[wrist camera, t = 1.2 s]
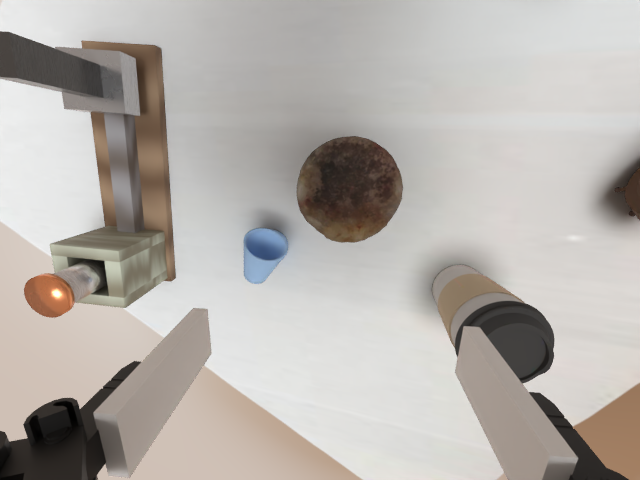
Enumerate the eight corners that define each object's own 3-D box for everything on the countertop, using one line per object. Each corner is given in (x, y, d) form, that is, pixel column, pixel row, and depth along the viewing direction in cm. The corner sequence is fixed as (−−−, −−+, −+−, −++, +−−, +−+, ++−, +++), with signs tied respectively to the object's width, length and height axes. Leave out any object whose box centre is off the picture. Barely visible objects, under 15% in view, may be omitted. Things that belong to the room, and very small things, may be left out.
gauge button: (86, 249, 36) (20, 274, 29) (121, 252, 36) (63, 278, 29) (91, 282, 38) (29, 314, 30) (125, 286, 37) (70, 319, 30)
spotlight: (266, 213, 41) (248, 256, 43) (242, 231, 31) (221, 285, 33) (299, 228, 41) (280, 270, 43) (286, 251, 32) (262, 304, 34)
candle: (358, 133, 37) (373, 113, 18) (384, 185, 39) (424, 218, 20) (305, 164, 39) (268, 176, 20) (332, 213, 40) (323, 269, 21)
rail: (89, 44, 37) (0, 6, 27) (161, 48, 36) (95, 11, 27) (117, 272, 45) (56, 304, 36) (175, 278, 45) (129, 312, 35)
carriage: (75, 54, 34) (-54, 6, 23) (135, 58, 34) (33, 12, 23) (83, 111, 36) (-34, 93, 25) (140, 116, 35) (48, 99, 24)
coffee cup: (418, 312, 43) (454, 391, 29) (430, 253, 41) (477, 308, 27) (482, 320, 43) (551, 404, 29) (498, 261, 40) (583, 321, 26)
